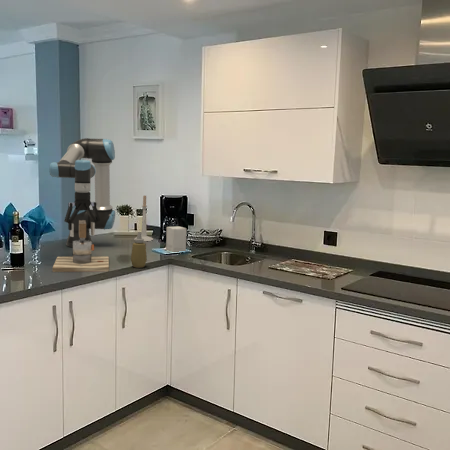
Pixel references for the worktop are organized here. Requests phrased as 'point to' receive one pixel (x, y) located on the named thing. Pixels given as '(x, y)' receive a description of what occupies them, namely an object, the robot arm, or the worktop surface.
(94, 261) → the base
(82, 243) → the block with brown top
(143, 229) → the candlestick
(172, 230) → the supplement box
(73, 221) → the robot arm
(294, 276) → the worktop surface
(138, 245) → the squeeze bottle
